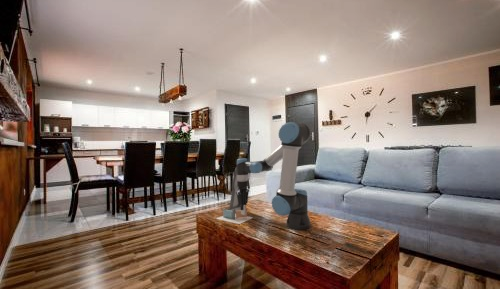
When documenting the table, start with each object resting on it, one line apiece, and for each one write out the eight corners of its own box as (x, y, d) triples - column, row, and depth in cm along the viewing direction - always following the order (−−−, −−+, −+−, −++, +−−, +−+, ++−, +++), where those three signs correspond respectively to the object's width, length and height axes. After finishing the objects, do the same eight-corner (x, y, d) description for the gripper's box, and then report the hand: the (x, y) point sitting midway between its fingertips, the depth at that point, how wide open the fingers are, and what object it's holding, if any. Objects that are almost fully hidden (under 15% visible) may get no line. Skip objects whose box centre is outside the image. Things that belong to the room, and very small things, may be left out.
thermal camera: (243, 212, 179) (242, 167, 179) (226, 212, 180) (225, 167, 180) (245, 208, 191) (244, 165, 191) (229, 208, 192) (228, 165, 192)
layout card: (253, 217, 167) (253, 217, 167) (239, 224, 154) (239, 223, 154) (230, 213, 179) (230, 212, 179) (216, 218, 166) (216, 218, 166)
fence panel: (247, 216, 168) (246, 208, 168) (247, 217, 166) (247, 208, 166) (235, 217, 165) (235, 209, 165) (236, 218, 164) (236, 209, 164)
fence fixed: (235, 219, 164) (235, 209, 164) (234, 219, 163) (233, 209, 163) (224, 216, 171) (224, 207, 171) (222, 217, 169) (222, 207, 169)
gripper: (243, 179, 172) (244, 211, 171) (232, 181, 161) (233, 216, 161) (252, 179, 167) (253, 212, 167) (241, 182, 157) (242, 217, 157)
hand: (243, 214), depth 164 cm, fingers closed
